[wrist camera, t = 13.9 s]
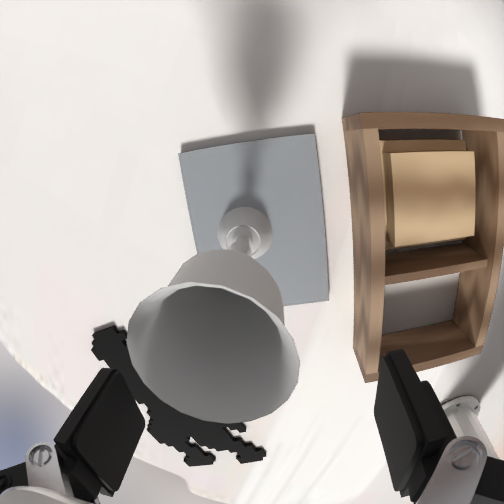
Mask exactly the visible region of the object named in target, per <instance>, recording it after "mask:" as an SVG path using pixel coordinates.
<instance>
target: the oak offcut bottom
mask: <svg viewBox="0 0 504 504" xmlns="http://www.w3.org/2000/svg"><path fill="white" fill-rule="evenodd" d="M380 150H381V161H382V173H383V188H384V209H385V250H391V249H398V248H405V247H413V246H420V245H427V244H434V243H441V242H448V241H455V240H462V239H466V237H461V238H455V239H448V240H441V241H434V242H427V243H420V244H413V245H406V246H398V247H394V246H393V245H392V244H391V243H390V242H389V241H388V240H387V214H386V194H385V179H384V167H383V156H382V152H400V151H428V150H466V144H465V140H449V139H413V140H380Z"/></svg>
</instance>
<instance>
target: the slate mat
mask: <svg viewBox="0 0 504 504" xmlns="http://www.w3.org/2000/svg"><path fill="white" fill-rule="evenodd" d="M178 155H179V161H180V166H181V172H182V178H183V183H184V189H185V194H186V199H187V205H188V210H189V215H190V220H191V225H192V230H193V235H194V240H195V245H196V249H197V254H199V253H203V252H207V251H211V250H216V249H223V248H222V247H221V245H220V243H219V240H218V226H219V223H220V221H221V219H222V218H223V217H224V215H225V214H226V213H228V212H229V211H231V210H232V209H235V208H239V207H251V208H254V209H256V210H259V211H260V212H261V213H263V214H264V215H265V216H266V217H267V219H268V220H269V222H270V223H271V226H272V230H273V239H272V242H271V245H270V247H269V249H268V250H267V251H266V252H265V253H264V254H263V255H262V256H260V257H258V258H257V259H254V260H256V261H257V262H258V263H259V264H261V265H262V266H263V267H264V268H265V269H266V270H268V272H269V273H270V275H271V276H272V278H273V279H274V281H275V282H276V283H277V285H278V287H279V290H280V294H281V297H282V301H283V306H288V305H297V304H305V303H313V302H321V301H329V288H328V269H327V253H326V239H325V226H324V214H323V203H322V193H321V183H320V174H319V165H318V157H317V149H316V141H315V134H304V135H294V136H285V137H277V138H269V139H261V140H254V141H247V142H240V143H234V144H228V145H222V146H216V147H210V148H205V149H199V150H194V151H189V152H184V153H179V154H178Z"/></svg>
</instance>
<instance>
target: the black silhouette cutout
mask: <svg viewBox="0 0 504 504" xmlns="http://www.w3.org/2000/svg"><path fill="white" fill-rule="evenodd" d="M92 336H93V337H94V339H95V340H93V342H92V344H93V345H94V347H93V348H92V349H91V351H92V352H93V353H94V355H95V356H96V357H97V359H98V360H99V361H101V360H104V361H105V362H106V363H107V365H108V366H109V367H110V368H112V369H117V370H118V371H119V373H121V374H122V375H123V377H124V379H125V382H126V384H127V386H128V388H129V390H130V392H131V394H132V396H133V398H134V400H136V401H137V402H138V403H139V404H143V403H144V404H145V405H146V406H147V407H148V408H149V409H148V410H147V414H148V415H149V416H150V417H151V418H150V420H149V422H150V423H149V424H148V426H149V427H148V428H147V431H148V432H149V433H150V434H151V435H152V436H153V437H154V438H155V439H156V440H157V441H158V442H159V443H160V444H162V443H165V444H166V445H167V446H173V447H174V448H175V449H176V450H177V451H178V452H185V453H186V454H187V455H186V457H185V458H184V462H185V463H186V464H187V465H188V466H201V465H211V464H213V462H214V461H215V460H216V458H215V457H214V456H213V455H212V454H211V453H205V452H204V451H203V450H202V449H201V448H200V447H199V446H198V445H197V444H192V445H191V444H190V443H189V442H188V441H189V440H190V437H192V438H193V439H194V440H195V441H196V442H197V443H198V444H199V445H200V446H207V447H208V448H209V449H213V448H215V449H216V451H223V450H229V451H230V452H231V453H232V452H237V453H238V454H239V455H236V459H237V460H238V461H239V462H240V463H241V464H242V463H249V462H255V461H261V460H263V457H266V452H265V451H264V450H263V449H262V448H257V449H256V448H255V447H254V446H253V445H252V443H246V444H245V443H244V442H243V440H242V439H241V438H240V437H239V438H233V436H232V435H231V434H230V433H229V432H228V430H227V429H226V428H225V427H229V429H230V430H235V429H237V430H238V431H239V432H240V433H241V432H246V427H245V426H244V425H243V423H242V422H239V423H228V424H227V423H219V422H211V421H204V420H201V419H198V418H195V417H192V416H190V415H187V414H184V413H181V412H180V411H178V410H176V409H175V408H173V407H171V406H170V405H168V404H167V403H165V402H163V401H162V400H160V399H159V398H158V397H157V396H156V395H155V394H154V393H153V392H152V391H151V390H150V389H149V388H148V387H147V386H146V385H145V384H144V383H143V381H142V379H141V378H140V376H139V375H138V373H137V371H136V370H135V368H134V366H133V365H132V362H131V358H130V354H129V351H128V347H127V343H126V341H125V339H127V333H126V331H125V330H122V331H118V330H117V328H116V327H115V325H114V326H112V327H109V328H106V329H103V330H100V331H97V332H94V334H93V335H92Z"/></svg>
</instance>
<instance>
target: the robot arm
mask: <svg viewBox="0 0 504 504" xmlns="http://www.w3.org/2000/svg"><path fill="white" fill-rule="evenodd" d="M479 411H480V403H479V402H478V400H477V399H476V398H475V397H473V396H463V397H459V398H456V399H453V400H451V401H449V402H447V403H445V404H443V405H442V406H441V404H440V402H439V400H438V398H437V396H436V394H435V392H434V390H433V388H432V387H431V385H430V383H429V382H428V381H422V382H421V381H420V379H419V377H418V376H417V374H416V372H415V370H414V368H413V366H412V364H411V362H410V360H409V358H408V357H407V355H406V353H405V351H404V350H403V349H398V350H392V351H387V352H386V355H385V356H383V357H381V361H380V370H379V378H378V385H377V393H376V399H375V406H374V416H375V420H376V424H377V427H378V430H379V434H380V438H381V441H382V445H383V448H384V452H385V456H386V460H387V463H388V467H389V471H390V475H391V479H392V483H393V487H394V490H395V491H400V494H401V497H405V496H410V500H411V502H414V504H504V461H503V460H500V459H499V458H498V456H497V454H496V452H495V450H494V448H493V446H492V444H491V442H490V440H489V438H488V436H487V434H486V433H485V431H484V429H483V427H482V425H481V424H480V422H479V420H478V418H477V416H478V414H479ZM144 428H145V419H144V417H143V415H142V413H141V412H140V410H139V408H138V406H137V404H136V402H135V400H134V398H133V396H132V394H131V392H130V390H129V388H128V386H127V384H126V382H125V379H124V377H123V375H122V374H121V373H119V371H118V370H117V369H112V368H102V369H101V370H100V371H99V372H98V374H97V375H96V377H95V378H94V380H93V381H92V383H91V384H90V385H89V387H88V388H87V390H86V391H85V393H84V394H83V396H82V397H81V399H80V400H79V402H78V403H77V405H76V406H75V408H74V409H73V411H72V412H71V414H70V415H69V417H68V418H67V420H66V421H65V423H64V424H63V426H62V427H61V429H60V430H59V432H58V434H57V435H56V437H55V438H54V442H55V443H56V444H55V446H53V445H52V444H50V443H48V442H39V443H37V444H35V445H33V446H32V447H31V448H30V449H29V450H28V452H27V454H26V462H24V463H21V464H18V465H16V466H13V467H10V468H7V469H4V470H1V471H0V504H100V502H99V499H98V494H99V492H100V493H101V494H103V495H107V496H110V497H113V495H114V492H115V491H117V490H118V489H119V487H120V485H121V483H122V480H123V478H124V475H125V473H126V470H127V468H128V466H129V463H130V461H131V458H132V456H133V454H134V451H135V449H136V447H137V444H138V442H139V439H140V437H141V435H142V432H143V430H144Z"/></svg>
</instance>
